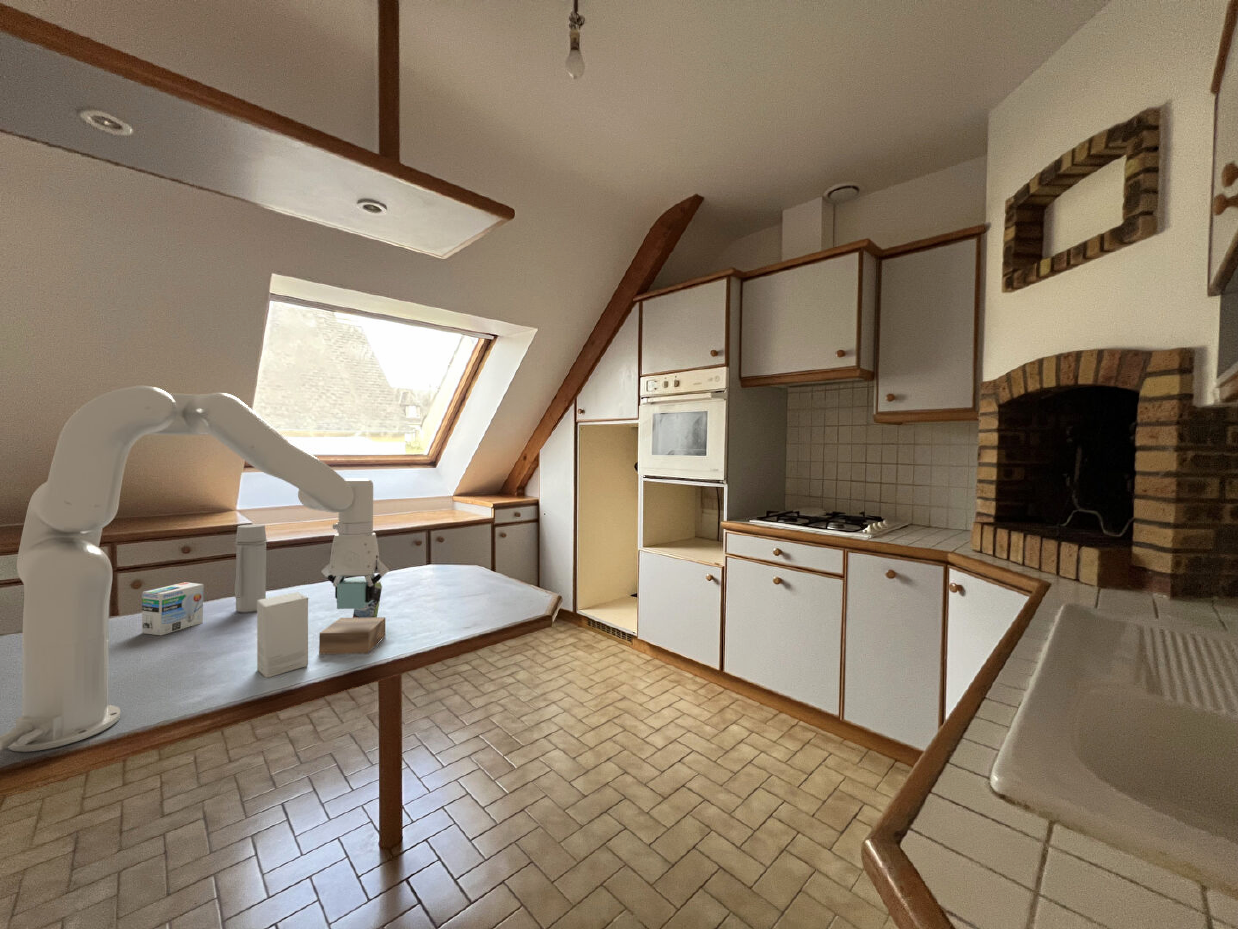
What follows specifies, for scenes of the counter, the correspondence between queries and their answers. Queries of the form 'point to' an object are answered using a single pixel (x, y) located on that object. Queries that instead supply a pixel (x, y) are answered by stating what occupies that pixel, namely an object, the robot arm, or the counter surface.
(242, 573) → the water bottle
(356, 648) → the walnut block
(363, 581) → the teal cube
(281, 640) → the skincare box
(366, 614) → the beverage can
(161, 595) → the light bulb box
